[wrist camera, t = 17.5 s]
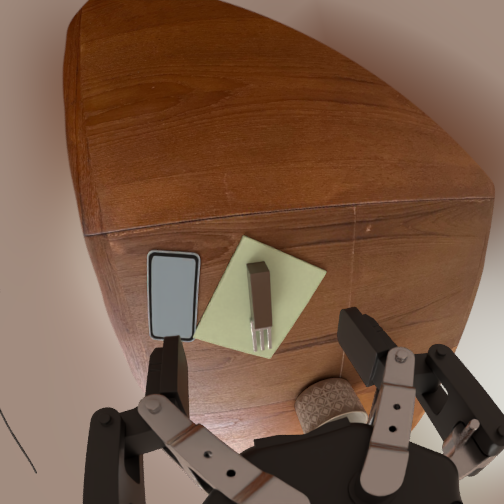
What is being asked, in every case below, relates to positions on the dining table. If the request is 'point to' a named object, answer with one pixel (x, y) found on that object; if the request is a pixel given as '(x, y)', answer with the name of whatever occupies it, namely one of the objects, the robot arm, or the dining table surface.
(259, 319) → the fork
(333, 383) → the planter
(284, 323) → the placemat
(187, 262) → the smartphone
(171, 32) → the dining table surface
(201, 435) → the robot arm
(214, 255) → the dining table surface
